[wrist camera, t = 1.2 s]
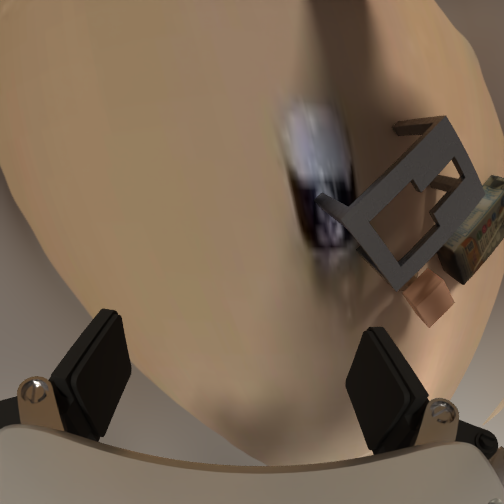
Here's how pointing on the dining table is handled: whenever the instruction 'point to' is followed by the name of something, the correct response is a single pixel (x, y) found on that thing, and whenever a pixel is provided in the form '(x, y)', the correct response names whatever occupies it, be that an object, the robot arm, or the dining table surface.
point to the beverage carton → (476, 234)
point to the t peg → (428, 296)
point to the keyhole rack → (420, 175)
